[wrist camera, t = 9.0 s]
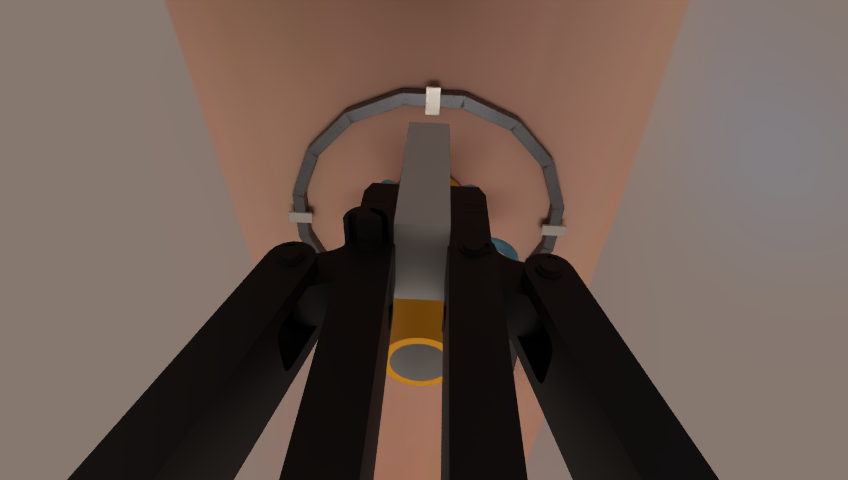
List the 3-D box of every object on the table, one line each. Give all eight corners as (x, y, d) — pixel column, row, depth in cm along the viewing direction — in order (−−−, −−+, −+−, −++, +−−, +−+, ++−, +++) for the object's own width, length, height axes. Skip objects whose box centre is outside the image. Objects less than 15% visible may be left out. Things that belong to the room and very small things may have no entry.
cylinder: (444, 278, 41) (443, 442, 29) (336, 228, 38) (285, 388, 26) (532, 175, 34) (577, 334, 22) (408, 104, 31) (384, 244, 19)
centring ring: (269, 73, 30) (264, 79, 29) (599, 89, 30) (603, 96, 29) (308, 303, 43) (305, 312, 43) (537, 316, 43) (539, 324, 42)
